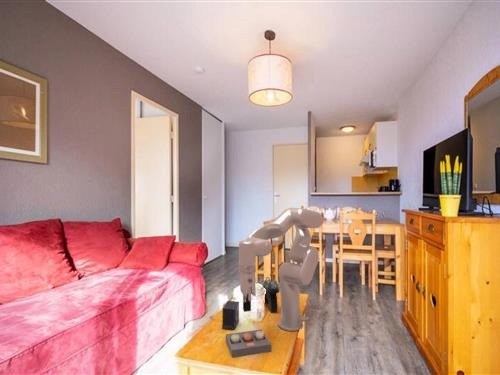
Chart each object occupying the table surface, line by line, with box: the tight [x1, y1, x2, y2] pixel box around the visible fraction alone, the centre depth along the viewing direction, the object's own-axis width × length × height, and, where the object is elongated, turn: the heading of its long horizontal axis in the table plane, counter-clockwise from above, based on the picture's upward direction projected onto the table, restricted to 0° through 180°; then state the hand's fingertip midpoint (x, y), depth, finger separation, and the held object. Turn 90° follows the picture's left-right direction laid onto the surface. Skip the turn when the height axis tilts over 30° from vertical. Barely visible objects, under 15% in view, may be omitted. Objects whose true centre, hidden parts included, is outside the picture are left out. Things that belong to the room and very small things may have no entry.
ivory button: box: [256, 330, 265, 340], centre depth 125 cm, size 4×4×2 cm
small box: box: [221, 300, 240, 331], centre depth 144 cm, size 11×6×10 cm, turn 168°
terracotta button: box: [244, 332, 252, 342], centre depth 123 cm, size 4×4×2 cm
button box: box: [225, 329, 272, 358], centre depth 123 cm, size 17×14×3 cm
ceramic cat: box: [262, 273, 280, 314], centre depth 167 cm, size 20×6×20 cm, turn 13°
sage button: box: [231, 334, 240, 344], centre depth 122 cm, size 4×4×2 cm
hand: (246, 310), depth 124 cm, fingers closed
